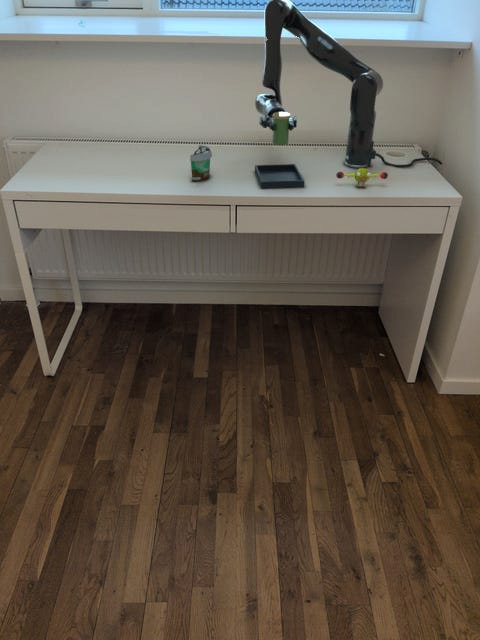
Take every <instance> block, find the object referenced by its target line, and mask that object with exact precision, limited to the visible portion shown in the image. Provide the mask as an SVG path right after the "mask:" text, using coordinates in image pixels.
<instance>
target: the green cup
mask: <svg viewBox="0 0 480 640" xmlns="http://www.w3.org/2000/svg"><path fill="white" fill-rule="evenodd" d="M273 117H274V121H273V123H274V125H275V128H274V131H272V144H273V145H275V146H286V145H288V144H289V138H290V137H289V135H290V130H289V121H290V118H291V113H289V112H287V111H285V112H276V113H274V114H273Z"/></svg>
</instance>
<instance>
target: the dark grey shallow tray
mask: <svg viewBox="0 0 480 640" xmlns="http://www.w3.org/2000/svg"><path fill="white" fill-rule="evenodd" d="M254 173H255V175H256V179H257V181H258V183H259V186H260V189H262V190H264V189H266V190H267V189H293V188H294V189H295V188H296V189H297V188H305V179H304V178H303V175H302V174H301V172H300V170H299V168H298V166H297V165H296V163H293V164H292V163H289V164H288V163H287V164H286V163H284V164H283V163H282V164H281V163H280V164H255V165H254Z"/></svg>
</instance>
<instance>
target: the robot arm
mask: <svg viewBox="0 0 480 640" xmlns="http://www.w3.org/2000/svg"><path fill="white" fill-rule="evenodd" d="M263 13H264V14H263V16H264V17H263V18H264V19H263V22H264V38H265V37H267V39H268V40H267V41H266V43H265V42H264V59H263V60H264V62H263V70H262V79H261V82H262V83H261V84H262V86H263V87H264V88H266V89H269V90H271V91H273V93H259V94H258V95H257V96H256V98H255V102H254V106H255V110H256V111H257V113H258V114H260V115H262V116H259V125H260V126H261V127H262V128H263V129H267V128H268V129H269V130H271V131H272V132H273V131H274V128H275V125H274V123H273V121H274V117H273V114H274V113H276V112H286V110H285V108H284V107H283V101H282V94H281V79H282V72H283V57H282V50H281V48H282V47H281V41H282V40H281V38H282V32H283V29H284V30H286V31H287V32H288V33H290V34H292V35H293V36H294V37H296V36H297V37H299V38H300V41H299V42H300V44H301V45H302V46H303V48H304V50H305V51H306V52H307V54H308V55H309V56H310V57H311V58H312V59H314V60H315V62H317V63H318V64H320V66H323V67H324V68H326V69H328V70H330V71H332V72H335V73H336V74H339V75H341V76H343V77H345V78H346V79H347V80H349V82H351V83H352V85H351V91H350V101H349V111H350V112H349V113H350V117H349V124H348V125H349V126H348V133H347V140H346V141H347V142H346V150H345V154H344V163H343V164H344V165H345V166H347V167H348V168H352V169H360V168H368V167H371V163H372V160H376V157H378V158H380V159H381V162H382V163H383V164H385V165H387V166H390V167H394V168H408V167H411V166H412V165H413V164H414V163H416V162H421V161H422V162H423V161H434V162H437V163H438V164H439V165H443V162H442V161H441V160H440V159H438V158H436V157H420V158H413V159H412V160H411V161H410V163H406V164H395V163H390V162H388V161H386V160H385V158H384V157H383V155H381V154H379V153H377V150H375V148H374V145H375V141H374V140H373V138H374V132H375V126H376V118H377V111H376V101H377V96H378V95H380V94H381V92H382V91H383V88H384V80H383V77H382V75H381V74H380V73H379V72H378V71H376V70H375V69H373V68H372V67H370V66H368V65H367V64H365V63H364V62H363V61H361V60H359V58H357V57H356V56H355V55H353V54H352V53H351V52H350V50H348V49H346V48H345V47H344V46H343V45H342V44H340V42H339V41H337V40H336V39H335V38H334V37H333V36H331V35H330V34H329V33H328V32H327V31H325V30H324V29H322V28H321V27H320V26H318V25H317V24H316V23H314V22H312V21H311V20H309V19H308V17H306V15H304V14H303V12H301V10H299V8H297V6H296V5H295V4H294V3H292V1H291V0H270V1H269V2H267V4H266V6H265V8H264V12H263ZM297 37H296V38H297ZM297 123H298V117H297V115H294V116H292V117H290V121H289V132H290V131H293V130H294V129H295V128H297V127H298V126H297Z"/></svg>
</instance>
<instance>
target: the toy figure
mask: <svg viewBox="0 0 480 640" xmlns="http://www.w3.org/2000/svg"><path fill="white" fill-rule="evenodd" d="M344 177H347V178H353V179H354V180H355V182H356V183H357V185H356V187H357V188H360V184H361V188H365V184H366V183H367V182H368V181H369V179H371V178H377V177H380V179H381V180H386V179H388V177H389V174H388V173H387V172H386V171H383V172H381V173H380V174H378V173H370V171H369V169H367V167H365V168H357V169H356V171H354V173H347V174H345V173H344V172H343V171H337V173H336V178H337V179H338V180H339V179H343V178H344Z"/></svg>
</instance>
